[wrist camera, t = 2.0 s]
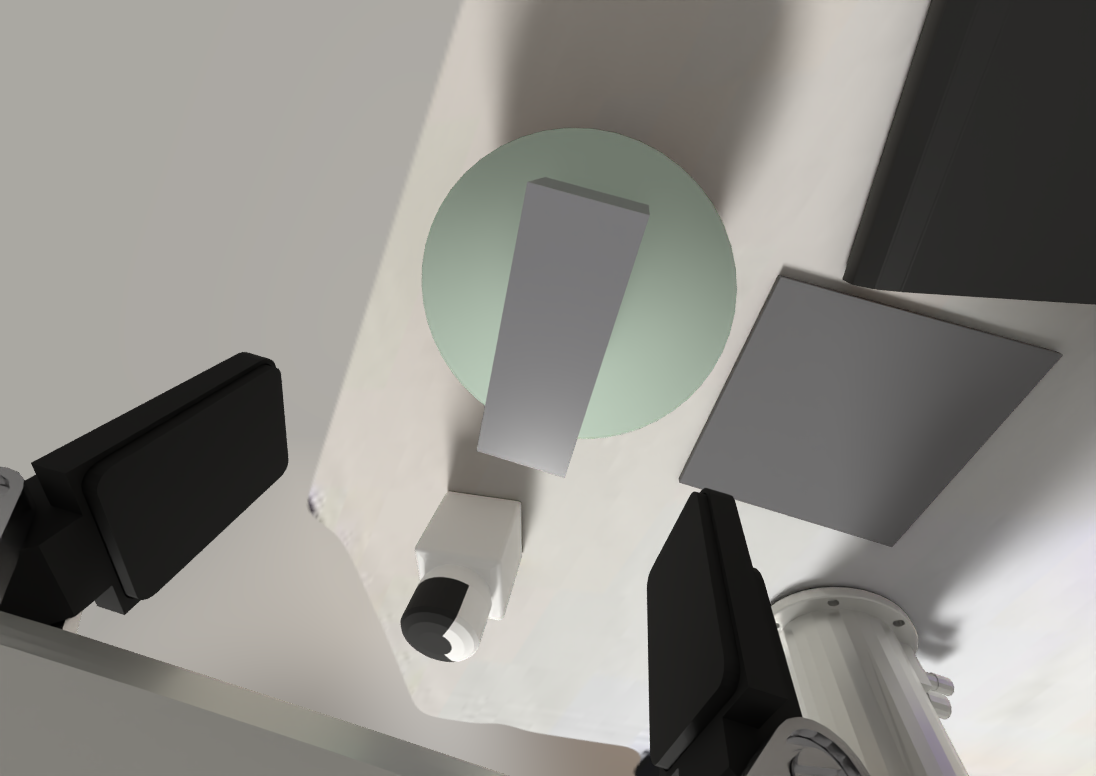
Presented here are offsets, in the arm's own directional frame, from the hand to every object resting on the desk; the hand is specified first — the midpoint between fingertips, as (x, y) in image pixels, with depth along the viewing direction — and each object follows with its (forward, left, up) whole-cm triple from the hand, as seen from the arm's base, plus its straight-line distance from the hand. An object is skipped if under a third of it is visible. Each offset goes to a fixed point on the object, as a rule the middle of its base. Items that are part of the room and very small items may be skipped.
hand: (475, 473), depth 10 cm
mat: (-20, +6, -23) cm, 31 cm away
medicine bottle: (+3, +26, -23) cm, 35 cm away
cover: (0, 0, -15) cm, 15 cm away
